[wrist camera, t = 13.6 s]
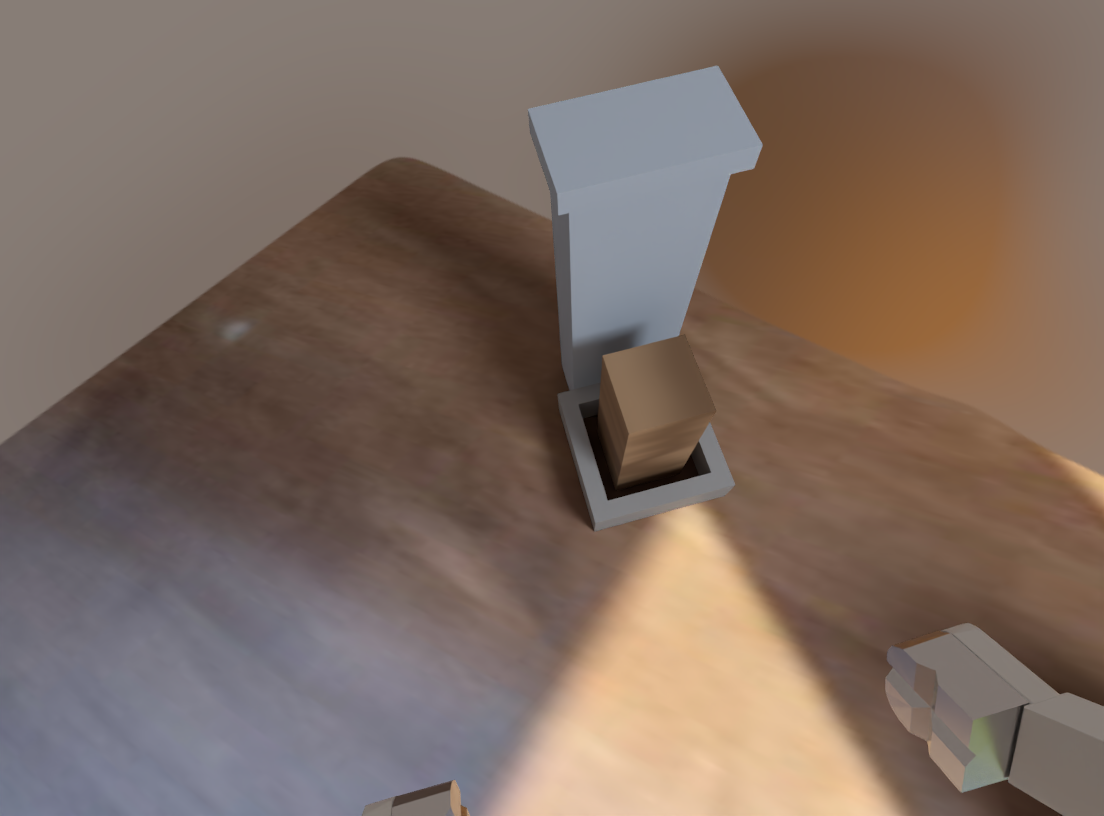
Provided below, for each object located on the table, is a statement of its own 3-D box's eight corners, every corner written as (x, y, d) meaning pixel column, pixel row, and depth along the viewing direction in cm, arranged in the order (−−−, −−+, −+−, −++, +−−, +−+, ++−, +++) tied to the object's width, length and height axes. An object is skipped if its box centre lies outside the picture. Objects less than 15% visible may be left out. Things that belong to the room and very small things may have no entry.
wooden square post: (615, 490, 33) (629, 433, 24) (596, 430, 35) (602, 355, 26) (679, 473, 34) (716, 410, 24) (657, 414, 35) (684, 334, 26)
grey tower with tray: (594, 531, 33) (610, 403, 15) (545, 362, 37) (514, 112, 19) (724, 495, 33) (887, 331, 15) (660, 333, 37) (731, 62, 20)
